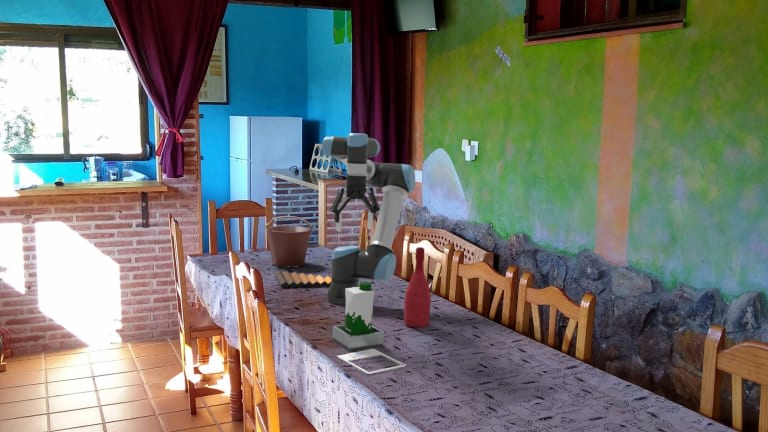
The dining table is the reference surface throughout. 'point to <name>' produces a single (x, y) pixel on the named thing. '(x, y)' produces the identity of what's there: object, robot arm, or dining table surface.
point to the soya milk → (359, 309)
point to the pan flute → (301, 280)
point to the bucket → (288, 243)
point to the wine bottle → (417, 296)
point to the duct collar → (358, 339)
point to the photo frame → (367, 355)
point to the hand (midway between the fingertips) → (354, 230)
